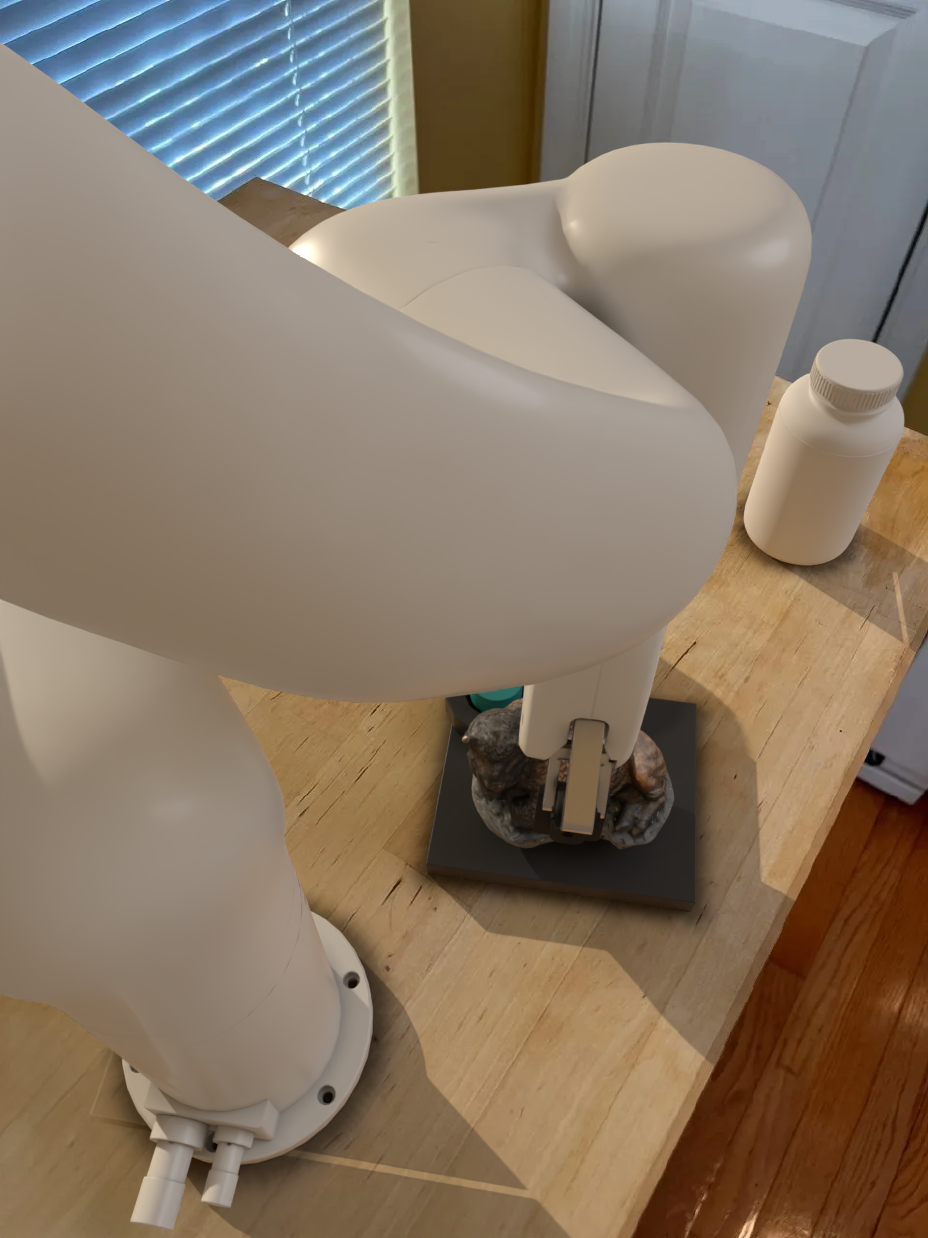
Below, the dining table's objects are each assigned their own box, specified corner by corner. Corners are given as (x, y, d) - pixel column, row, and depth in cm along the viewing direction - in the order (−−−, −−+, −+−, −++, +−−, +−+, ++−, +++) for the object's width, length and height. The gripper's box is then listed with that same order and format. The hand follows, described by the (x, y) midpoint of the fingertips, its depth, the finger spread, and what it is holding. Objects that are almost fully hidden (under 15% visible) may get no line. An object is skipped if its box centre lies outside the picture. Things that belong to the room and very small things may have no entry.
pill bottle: (718, 525, 70) (770, 359, 58) (784, 475, 73) (845, 308, 61) (806, 587, 67) (881, 423, 55) (871, 531, 70) (955, 365, 58)
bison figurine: (653, 749, 57) (683, 653, 49) (682, 859, 53) (720, 773, 45) (456, 769, 56) (454, 674, 48) (469, 881, 52) (470, 798, 44)
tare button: (518, 719, 57) (519, 703, 55) (466, 712, 57) (466, 697, 56) (524, 676, 59) (525, 659, 57) (473, 669, 59) (474, 653, 58)
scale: (691, 912, 52) (702, 892, 50) (417, 872, 54) (414, 851, 51) (692, 701, 61) (701, 675, 58) (455, 671, 62) (454, 645, 60)
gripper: (542, 357, 40) (520, 606, 54) (489, 689, 30) (477, 895, 43) (719, 375, 40) (651, 623, 53) (728, 721, 29) (641, 920, 43)
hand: (573, 745), depth 48 cm, fingers open, 9 cm apart
